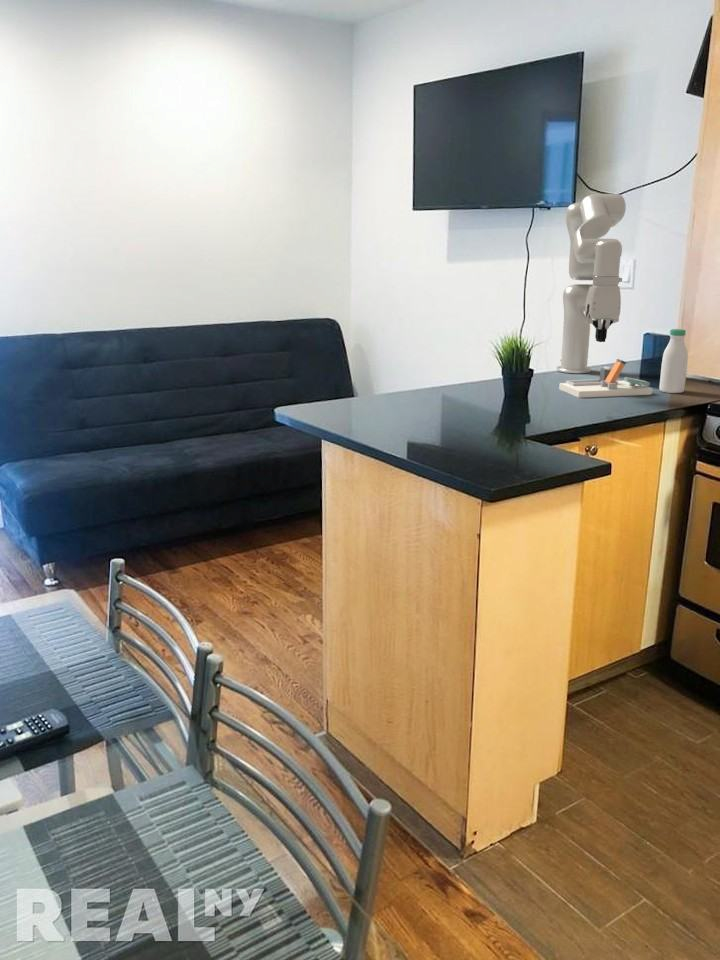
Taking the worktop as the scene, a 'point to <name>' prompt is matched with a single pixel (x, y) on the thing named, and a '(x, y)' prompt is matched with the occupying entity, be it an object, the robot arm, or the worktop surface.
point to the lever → (615, 371)
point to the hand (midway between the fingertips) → (600, 341)
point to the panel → (603, 388)
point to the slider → (604, 373)
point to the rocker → (636, 381)
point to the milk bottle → (674, 363)
